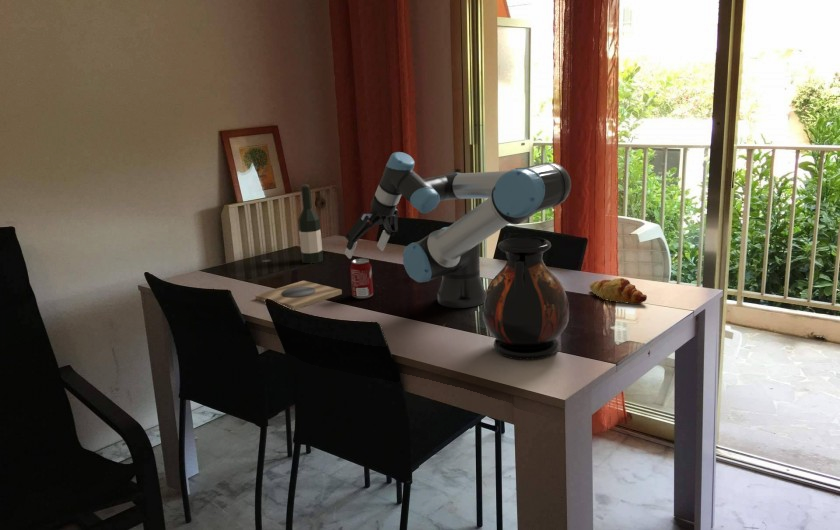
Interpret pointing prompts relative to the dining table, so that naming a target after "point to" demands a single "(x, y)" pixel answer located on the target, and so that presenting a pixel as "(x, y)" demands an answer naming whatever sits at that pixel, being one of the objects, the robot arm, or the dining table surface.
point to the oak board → (300, 294)
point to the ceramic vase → (525, 302)
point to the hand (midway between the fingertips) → (364, 252)
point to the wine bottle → (309, 230)
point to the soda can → (361, 278)
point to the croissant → (618, 291)
